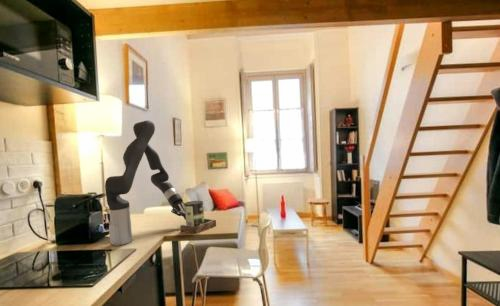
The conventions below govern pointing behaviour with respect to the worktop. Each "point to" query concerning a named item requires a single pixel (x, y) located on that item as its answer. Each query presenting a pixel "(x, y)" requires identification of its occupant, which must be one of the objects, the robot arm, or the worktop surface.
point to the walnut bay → (199, 226)
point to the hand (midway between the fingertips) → (188, 219)
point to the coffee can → (194, 213)
